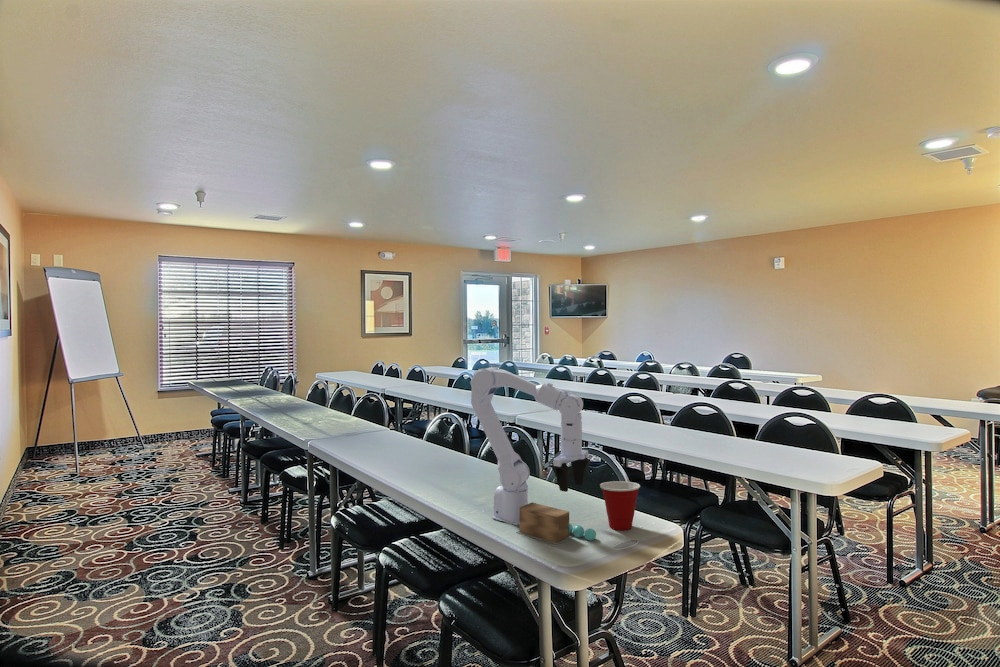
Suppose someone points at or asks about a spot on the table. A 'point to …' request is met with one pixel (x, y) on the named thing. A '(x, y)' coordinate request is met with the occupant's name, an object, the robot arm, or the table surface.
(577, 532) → the marble
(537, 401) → the robot arm
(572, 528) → the marble
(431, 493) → the table surface
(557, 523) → the wooden block
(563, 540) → the felt mat
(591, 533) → the teal egg
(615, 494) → the plastic cup
